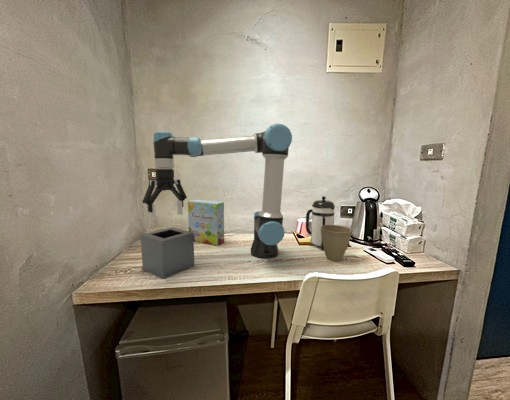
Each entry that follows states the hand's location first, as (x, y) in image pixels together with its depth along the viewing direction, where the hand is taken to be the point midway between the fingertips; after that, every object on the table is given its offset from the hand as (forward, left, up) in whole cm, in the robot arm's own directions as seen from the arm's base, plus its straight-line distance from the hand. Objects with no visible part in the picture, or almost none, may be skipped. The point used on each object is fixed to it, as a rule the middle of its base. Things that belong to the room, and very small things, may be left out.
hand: (167, 216), depth 100 cm
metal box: (0, 0, -24) cm, 24 cm away
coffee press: (-46, -71, -24) cm, 88 cm away
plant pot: (-59, -56, -24) cm, 85 cm away
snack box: (+14, -36, -24) cm, 45 cm away
